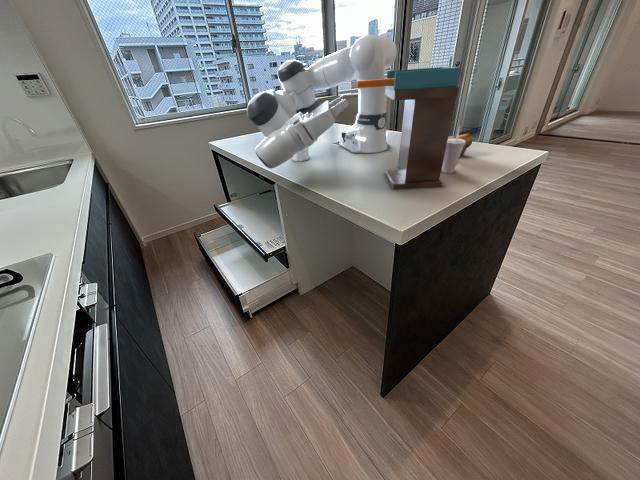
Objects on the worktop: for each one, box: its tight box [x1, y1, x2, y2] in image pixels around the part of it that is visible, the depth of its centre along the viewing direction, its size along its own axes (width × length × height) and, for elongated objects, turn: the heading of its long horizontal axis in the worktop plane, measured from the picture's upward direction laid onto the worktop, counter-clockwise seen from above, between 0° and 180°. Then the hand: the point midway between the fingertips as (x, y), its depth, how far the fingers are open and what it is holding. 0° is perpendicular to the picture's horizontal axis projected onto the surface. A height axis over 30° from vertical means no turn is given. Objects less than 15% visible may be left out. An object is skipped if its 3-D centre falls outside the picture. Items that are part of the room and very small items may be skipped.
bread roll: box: [448, 133, 474, 157], centre depth 97 cm, size 13×10×8 cm
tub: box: [386, 66, 462, 91], centre depth 67 cm, size 15×11×4 cm
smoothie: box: [441, 125, 466, 174], centre depth 82 cm, size 6×6×14 cm
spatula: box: [356, 78, 395, 89], centre depth 67 cm, size 20×6×2 cm, turn 88°
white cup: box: [291, 146, 310, 162], centre depth 105 cm, size 8×8×10 cm
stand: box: [385, 86, 460, 190], centre depth 75 cm, size 16×13×26 cm
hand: (346, 99), depth 70 cm, fingers open, 8 cm apart
